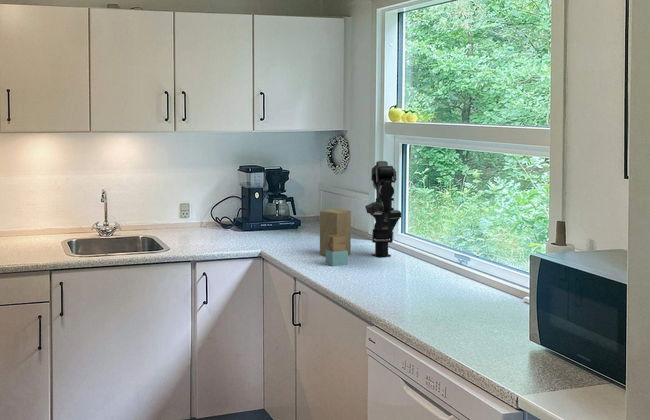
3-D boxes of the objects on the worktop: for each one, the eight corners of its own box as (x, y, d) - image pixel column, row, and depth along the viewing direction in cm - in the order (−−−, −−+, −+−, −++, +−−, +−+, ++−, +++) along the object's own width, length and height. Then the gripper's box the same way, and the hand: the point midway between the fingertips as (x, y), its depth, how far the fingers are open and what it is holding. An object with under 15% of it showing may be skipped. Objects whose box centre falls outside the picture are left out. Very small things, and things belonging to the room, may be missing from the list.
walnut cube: (327, 249, 341) (327, 235, 340) (339, 248, 343) (339, 234, 343) (333, 251, 336) (333, 237, 335) (345, 250, 338) (345, 236, 338)
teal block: (325, 263, 342) (325, 249, 341) (340, 262, 345) (340, 248, 344) (332, 266, 336) (332, 252, 335) (347, 265, 339) (347, 251, 338)
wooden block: (333, 252, 368) (333, 208, 365) (350, 254, 362) (351, 210, 359) (319, 255, 360) (319, 210, 358) (336, 258, 354) (337, 212, 351)
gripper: (358, 194, 345) (357, 230, 347) (378, 198, 329) (378, 236, 331) (381, 193, 350) (380, 228, 352) (402, 197, 333) (401, 235, 335)
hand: (384, 232), depth 342 cm, fingers open, 9 cm apart
